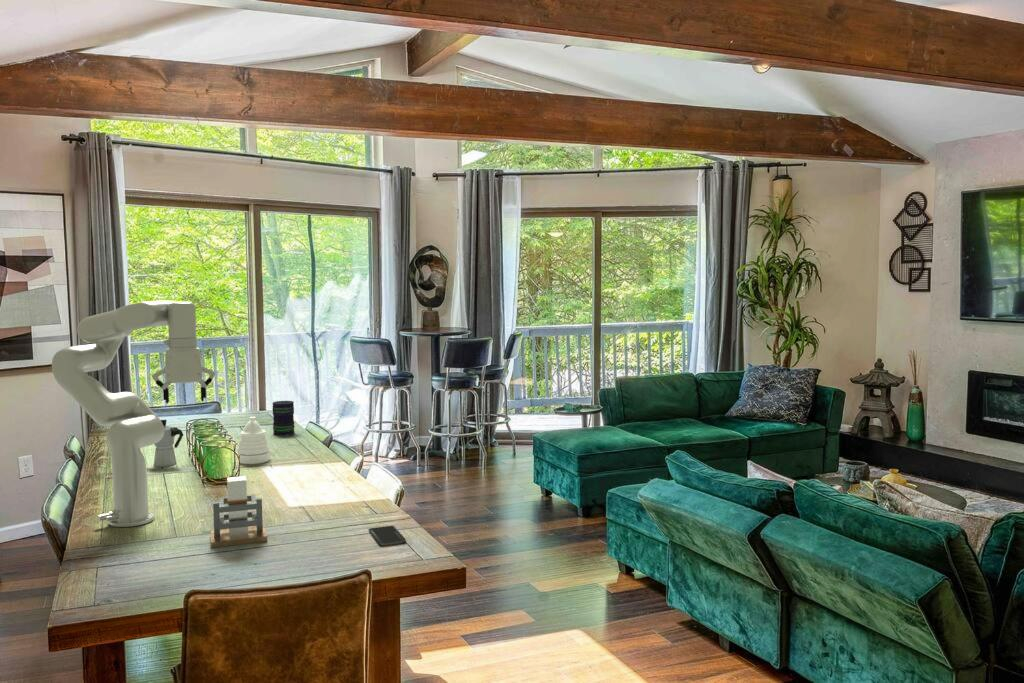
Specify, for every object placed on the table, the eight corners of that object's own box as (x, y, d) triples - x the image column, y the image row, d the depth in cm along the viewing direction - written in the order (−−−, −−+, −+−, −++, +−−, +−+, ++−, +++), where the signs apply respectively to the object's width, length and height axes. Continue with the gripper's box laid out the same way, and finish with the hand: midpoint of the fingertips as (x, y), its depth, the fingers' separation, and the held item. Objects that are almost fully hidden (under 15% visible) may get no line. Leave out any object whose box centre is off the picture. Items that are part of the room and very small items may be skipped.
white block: (229, 537, 231) (227, 481, 230) (228, 531, 236) (226, 477, 234) (248, 535, 233) (246, 480, 231) (247, 529, 238) (245, 475, 236)
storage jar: (272, 432, 389) (272, 401, 388) (294, 430, 392) (293, 400, 391) (273, 436, 380) (272, 404, 378) (295, 434, 383) (294, 403, 381)
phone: (379, 544, 227) (367, 528, 241) (379, 548, 227) (367, 532, 241) (407, 540, 230) (394, 525, 244) (407, 544, 230) (394, 528, 244)
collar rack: (211, 547, 227) (209, 508, 226) (211, 535, 237) (209, 498, 236) (267, 541, 232) (266, 503, 231) (264, 529, 242) (263, 493, 241)
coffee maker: (143, 466, 322) (142, 421, 321) (158, 461, 331) (156, 417, 329) (176, 468, 319) (175, 422, 317) (190, 463, 327) (189, 418, 326)
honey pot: (271, 462, 328) (270, 418, 327) (237, 465, 323) (236, 420, 322) (268, 455, 340) (267, 412, 339) (236, 458, 335) (234, 415, 334)
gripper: (149, 345, 233) (152, 405, 234) (214, 343, 239) (216, 401, 240) (151, 343, 240) (154, 401, 241) (214, 341, 246) (216, 398, 247)
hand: (185, 401), depth 241 cm, fingers open, 9 cm apart
